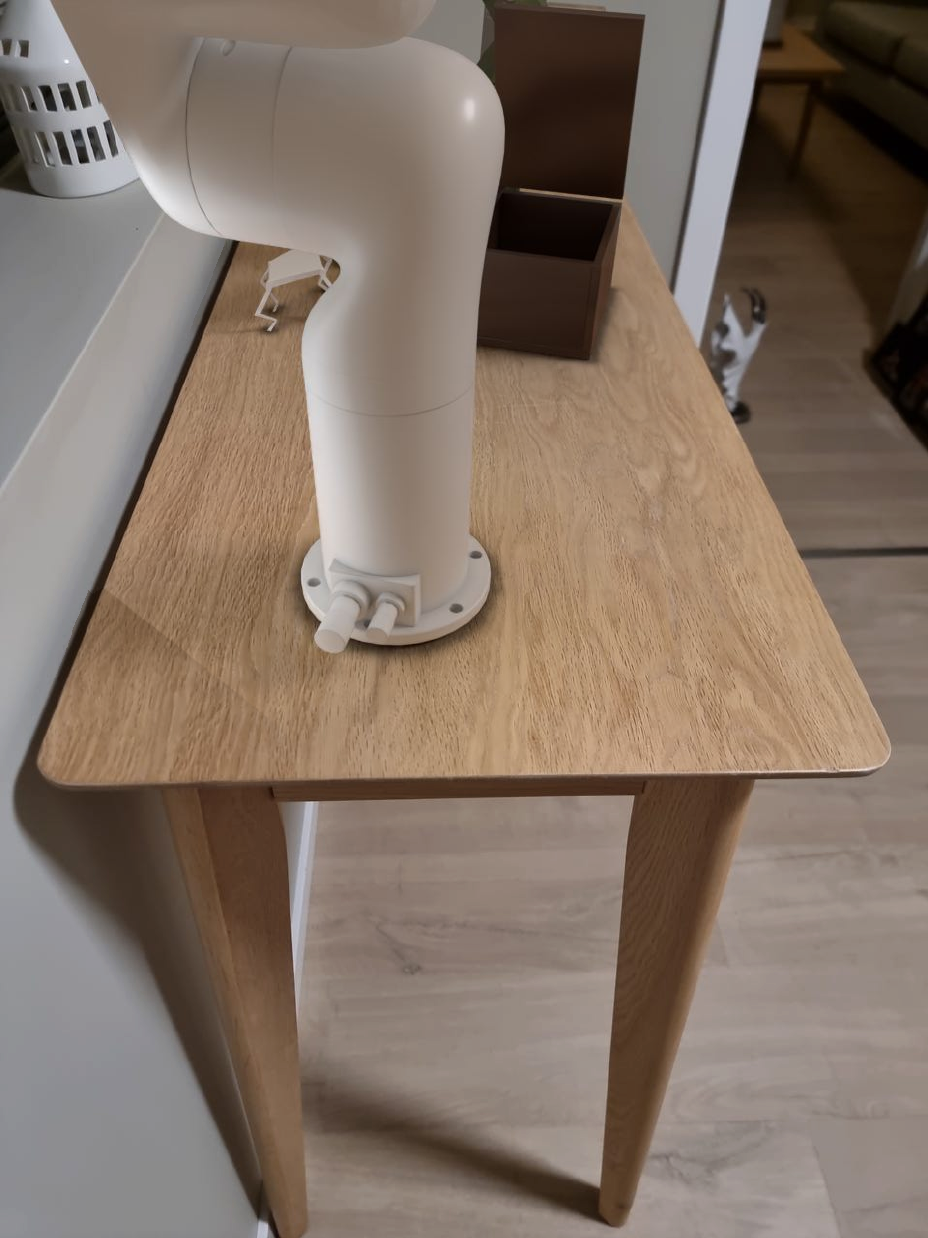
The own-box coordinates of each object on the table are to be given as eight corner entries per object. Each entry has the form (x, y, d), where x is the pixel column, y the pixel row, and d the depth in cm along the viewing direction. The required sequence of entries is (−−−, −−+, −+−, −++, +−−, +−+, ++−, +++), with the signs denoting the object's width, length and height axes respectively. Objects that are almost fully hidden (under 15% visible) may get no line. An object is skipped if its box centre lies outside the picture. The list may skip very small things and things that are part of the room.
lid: (644, 18, 75) (652, -13, 78) (493, 6, 77) (506, -24, 80) (622, 199, 89) (630, 168, 92) (495, 185, 91) (506, 155, 94)
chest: (589, 360, 85) (601, 265, 79) (456, 341, 87) (458, 248, 81) (610, 289, 96) (622, 202, 90) (492, 274, 98) (496, 187, 92)
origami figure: (340, 338, 87) (336, 287, 83) (252, 333, 87) (244, 283, 83) (358, 284, 95) (356, 236, 92) (278, 279, 96) (273, 231, 92)
